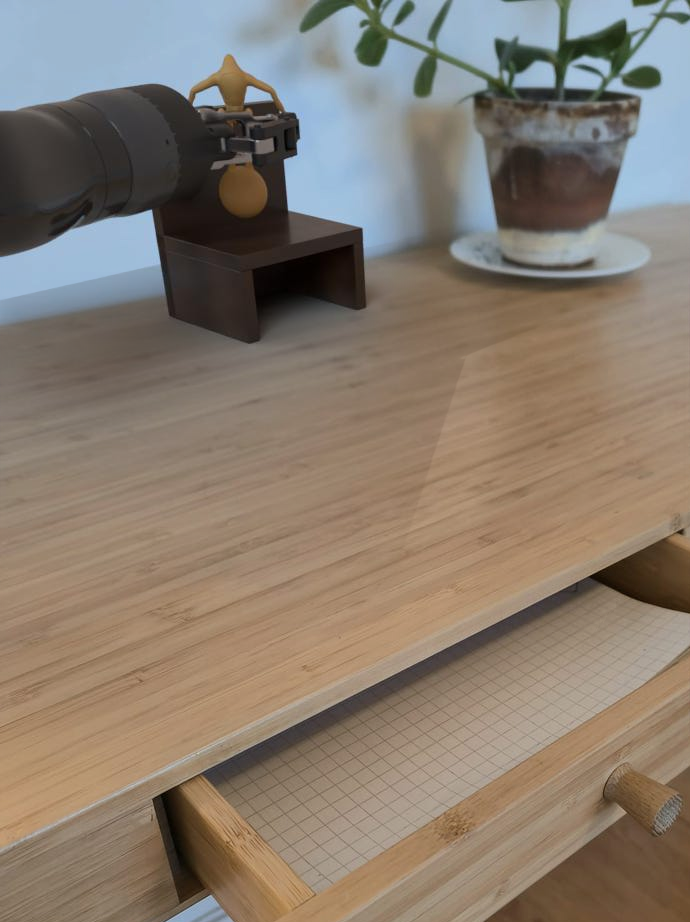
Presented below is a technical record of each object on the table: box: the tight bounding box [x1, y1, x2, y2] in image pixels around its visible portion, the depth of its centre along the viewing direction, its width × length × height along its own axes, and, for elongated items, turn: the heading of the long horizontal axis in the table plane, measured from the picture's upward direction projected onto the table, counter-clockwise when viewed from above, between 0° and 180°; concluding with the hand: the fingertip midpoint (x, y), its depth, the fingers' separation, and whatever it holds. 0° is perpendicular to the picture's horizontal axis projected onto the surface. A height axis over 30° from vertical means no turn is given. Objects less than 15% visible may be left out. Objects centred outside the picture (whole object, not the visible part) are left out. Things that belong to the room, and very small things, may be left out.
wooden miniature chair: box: [151, 99, 367, 344], centre depth 83 cm, size 11×14×16 cm
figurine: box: [187, 53, 287, 218], centre depth 77 cm, size 8×6×12 cm
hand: (252, 123), depth 78 cm, fingers closed on figurine, 7 cm apart
